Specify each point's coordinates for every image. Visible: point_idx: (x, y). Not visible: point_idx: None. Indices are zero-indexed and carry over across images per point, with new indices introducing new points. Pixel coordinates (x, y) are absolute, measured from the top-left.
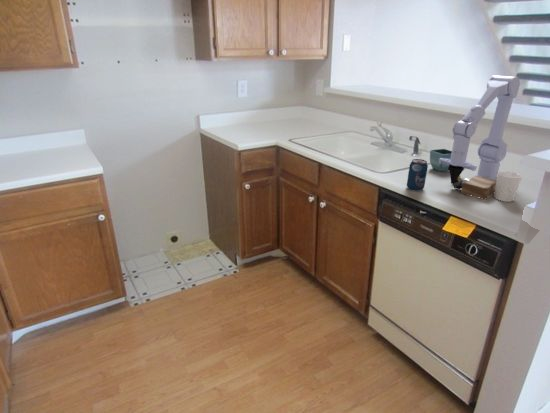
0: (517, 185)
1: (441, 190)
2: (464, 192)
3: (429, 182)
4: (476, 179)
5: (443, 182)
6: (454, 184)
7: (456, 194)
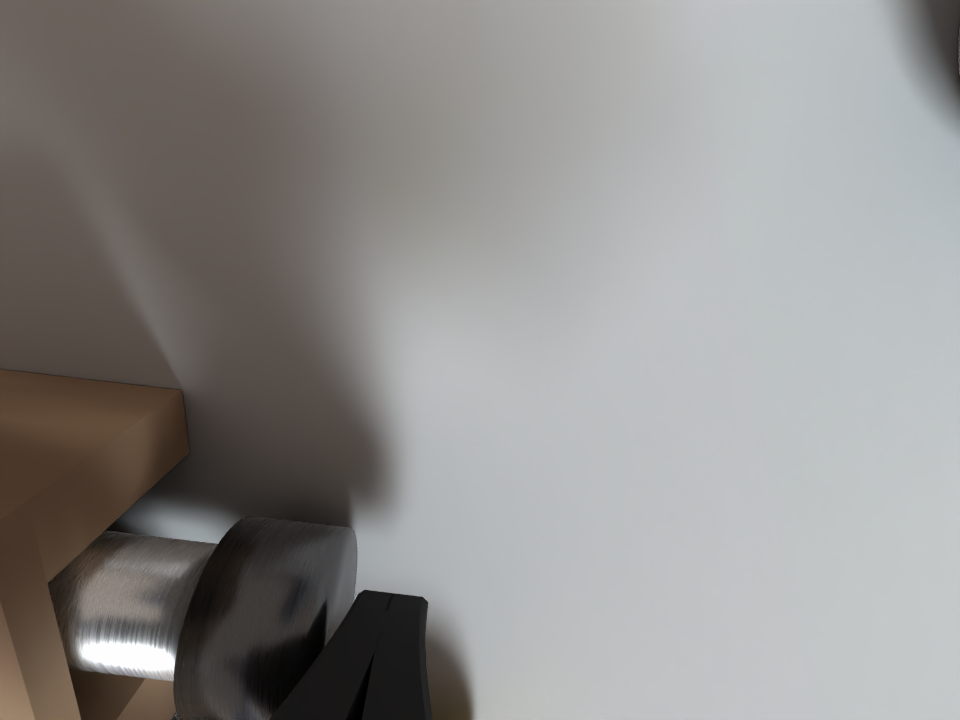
0: None
1: (530, 317)
2: (98, 398)
3: (839, 596)
4: None
5: (616, 707)
6: (324, 556)
7: (212, 280)
